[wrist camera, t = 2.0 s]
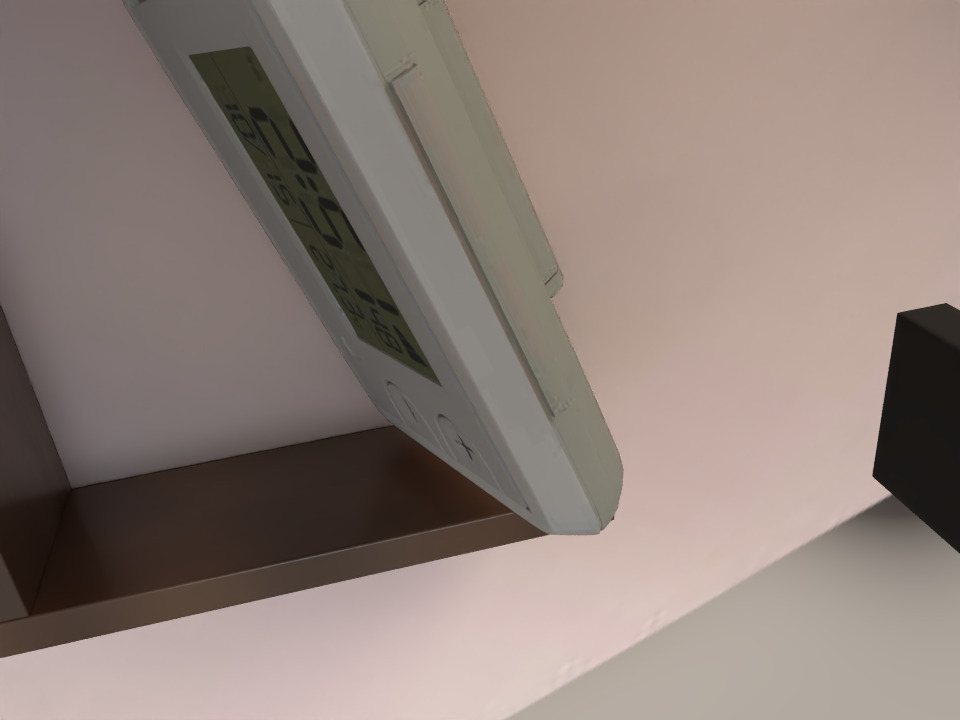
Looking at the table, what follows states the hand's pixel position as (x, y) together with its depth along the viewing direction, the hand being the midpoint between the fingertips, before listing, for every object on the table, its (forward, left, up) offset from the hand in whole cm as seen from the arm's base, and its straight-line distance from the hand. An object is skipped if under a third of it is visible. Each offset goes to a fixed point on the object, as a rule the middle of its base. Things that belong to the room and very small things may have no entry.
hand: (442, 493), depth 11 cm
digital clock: (0, 0, -17) cm, 17 cm away
